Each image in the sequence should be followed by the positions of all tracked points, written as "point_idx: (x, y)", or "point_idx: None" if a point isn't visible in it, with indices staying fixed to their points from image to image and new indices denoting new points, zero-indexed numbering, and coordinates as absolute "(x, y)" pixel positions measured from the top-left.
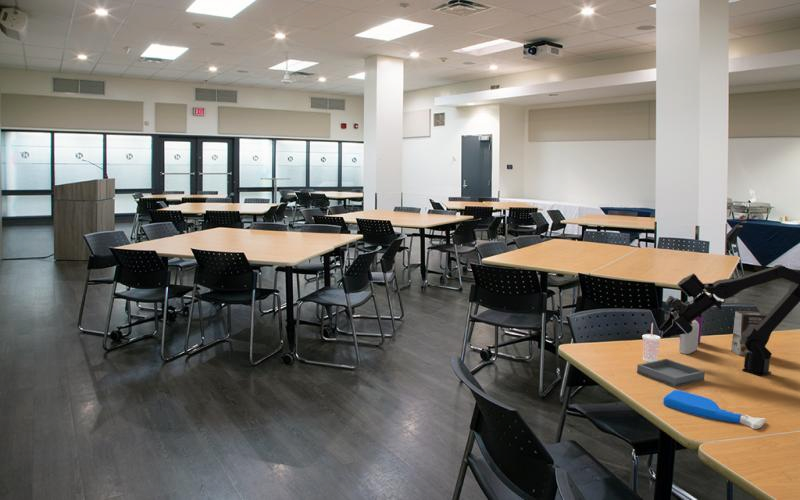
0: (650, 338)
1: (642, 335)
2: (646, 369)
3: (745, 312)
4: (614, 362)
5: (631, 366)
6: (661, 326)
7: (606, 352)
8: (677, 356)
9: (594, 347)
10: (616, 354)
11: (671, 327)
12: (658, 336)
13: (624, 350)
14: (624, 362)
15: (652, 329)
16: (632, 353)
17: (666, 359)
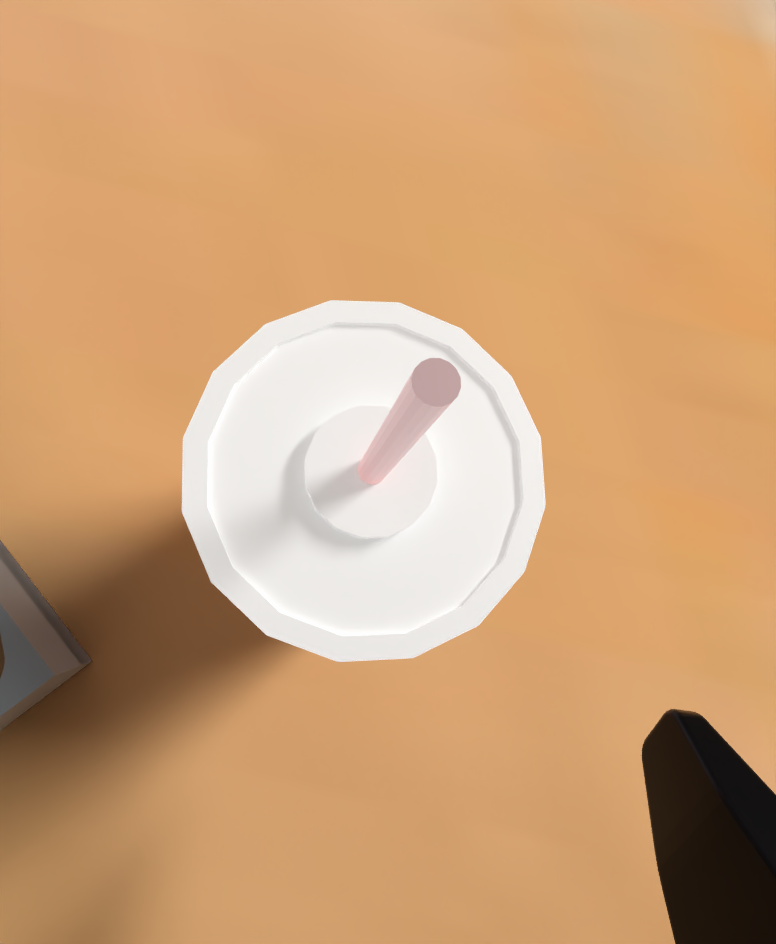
0: (199, 411)
1: (405, 305)
2: None
3: None
4: (155, 104)
5: (35, 249)
6: (739, 782)
7: (507, 112)
8: (579, 923)
9: (650, 38)
10: (462, 197)
11: None
12: (414, 631)
13: (637, 319)
14: (177, 210)
15: (377, 445)
16: (548, 381)
17: (6, 668)
